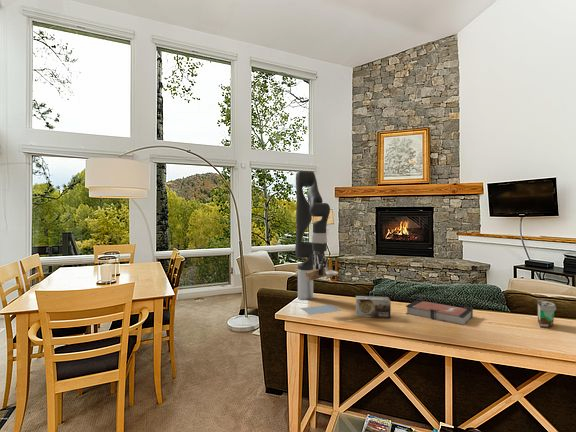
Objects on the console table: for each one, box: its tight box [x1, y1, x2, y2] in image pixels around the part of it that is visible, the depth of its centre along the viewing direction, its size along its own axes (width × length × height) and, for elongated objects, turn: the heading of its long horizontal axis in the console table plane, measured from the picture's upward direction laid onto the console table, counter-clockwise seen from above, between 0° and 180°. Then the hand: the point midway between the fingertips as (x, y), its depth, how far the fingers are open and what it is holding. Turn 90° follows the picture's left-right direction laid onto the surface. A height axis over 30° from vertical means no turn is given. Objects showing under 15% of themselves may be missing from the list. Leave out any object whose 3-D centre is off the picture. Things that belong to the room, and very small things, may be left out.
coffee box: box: [355, 295, 392, 319], centre depth 163 cm, size 9×6×16 cm
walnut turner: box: [305, 268, 339, 281], centre depth 172 cm, size 16×7×4 cm, turn 112°
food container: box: [537, 299, 557, 329], centre depth 148 cm, size 12×6×10 cm, turn 148°
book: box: [405, 298, 474, 326], centre depth 164 cm, size 26×18×5 cm
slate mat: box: [300, 304, 342, 316], centre depth 172 cm, size 12×18×1 cm, turn 112°
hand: (319, 274), depth 171 cm, fingers closed on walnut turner, 3 cm apart
